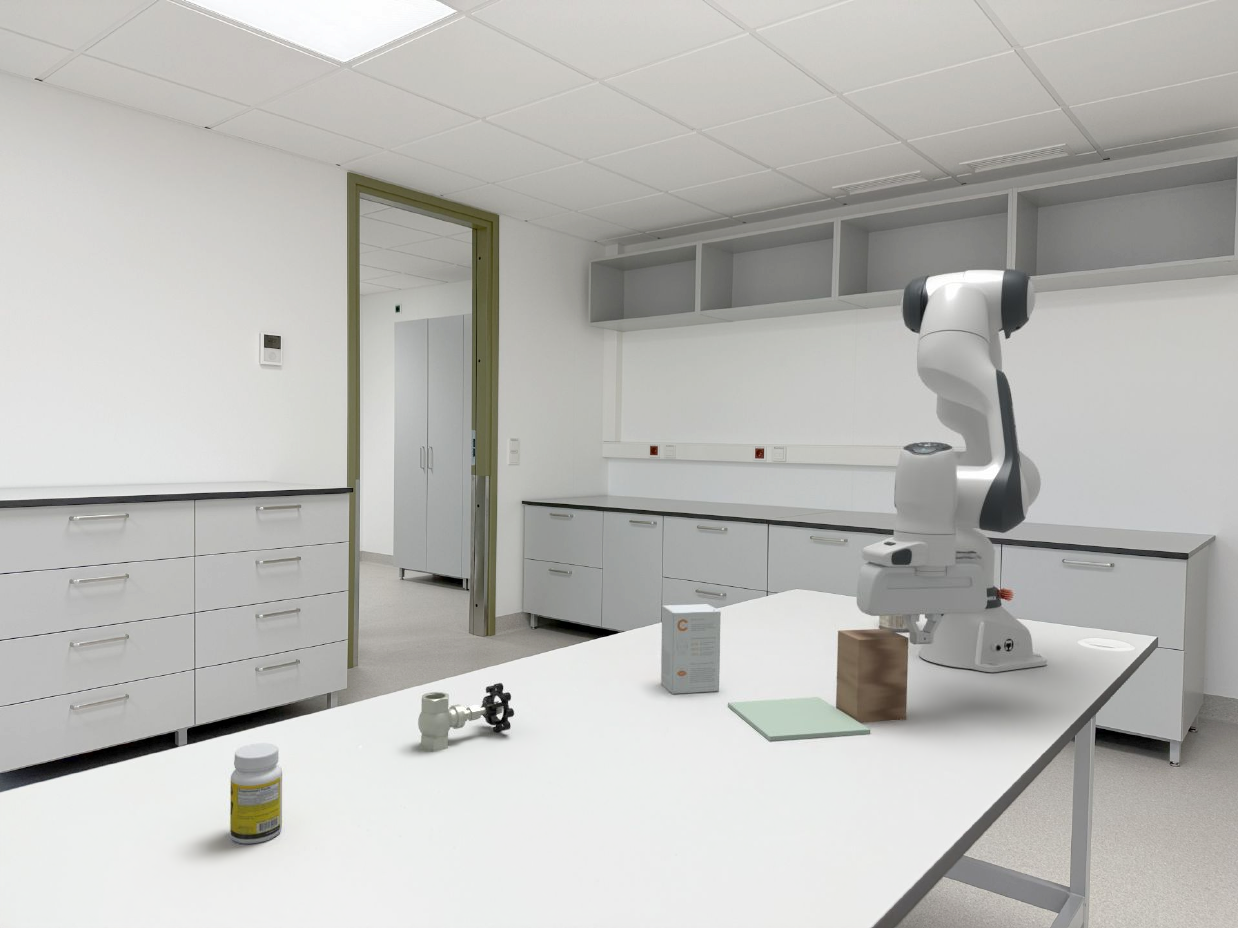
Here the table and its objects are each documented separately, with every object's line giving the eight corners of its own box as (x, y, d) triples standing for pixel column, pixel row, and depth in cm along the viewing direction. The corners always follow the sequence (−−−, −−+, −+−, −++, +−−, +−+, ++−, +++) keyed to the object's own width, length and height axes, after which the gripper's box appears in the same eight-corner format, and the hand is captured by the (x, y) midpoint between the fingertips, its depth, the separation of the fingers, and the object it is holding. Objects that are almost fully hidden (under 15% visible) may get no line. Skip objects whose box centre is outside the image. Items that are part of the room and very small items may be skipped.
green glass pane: (818, 700, 131) (818, 696, 131) (870, 733, 117) (870, 729, 117) (727, 706, 128) (728, 702, 128) (769, 740, 113) (769, 736, 113)
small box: (706, 680, 141) (708, 603, 141) (719, 692, 135) (721, 610, 135) (659, 683, 139) (661, 604, 139) (671, 694, 133) (673, 612, 133)
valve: (431, 758, 105) (513, 737, 113) (432, 705, 105) (514, 688, 113) (408, 742, 110) (488, 724, 118) (408, 692, 110) (488, 677, 118)
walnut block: (884, 706, 129) (886, 628, 129) (907, 719, 123) (909, 637, 123) (835, 710, 127) (838, 630, 127) (856, 723, 121) (858, 639, 121)
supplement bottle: (240, 823, 86) (241, 741, 86) (288, 822, 87) (289, 740, 86) (222, 845, 81) (223, 758, 81) (272, 844, 82) (273, 758, 82)
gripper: (970, 548, 132) (967, 636, 132) (852, 548, 127) (849, 640, 127) (998, 553, 126) (995, 645, 126) (875, 554, 121) (872, 650, 121)
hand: (921, 643), depth 127 cm, fingers closed
